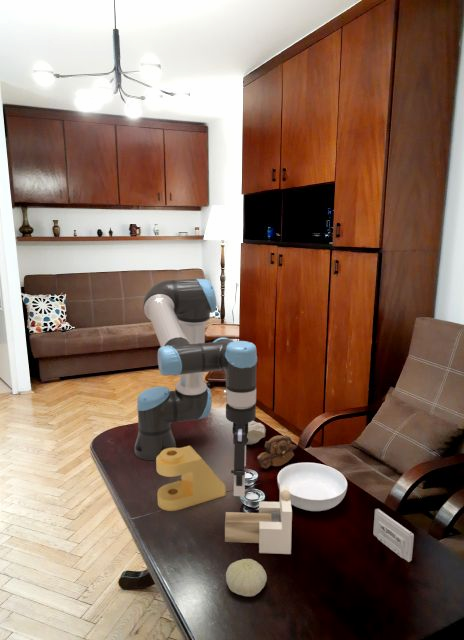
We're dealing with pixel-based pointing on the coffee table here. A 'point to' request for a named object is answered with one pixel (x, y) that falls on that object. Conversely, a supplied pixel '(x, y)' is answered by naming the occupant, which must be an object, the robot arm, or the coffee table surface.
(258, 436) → the white rock
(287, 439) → the wooden carving
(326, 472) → the serving bowl
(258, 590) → the sea urchin shell
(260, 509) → the white notched block
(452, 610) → the coffee table surface
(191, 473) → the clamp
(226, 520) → the rail
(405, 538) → the cassette
